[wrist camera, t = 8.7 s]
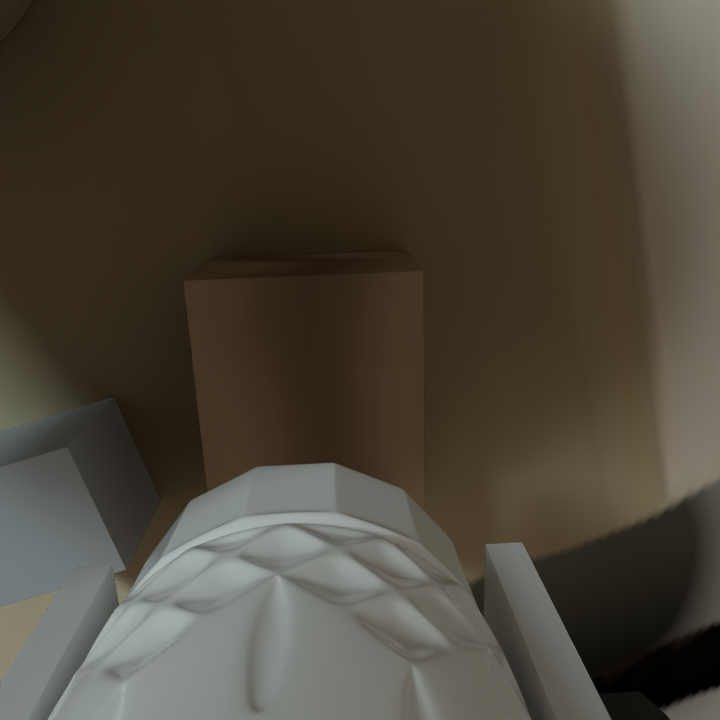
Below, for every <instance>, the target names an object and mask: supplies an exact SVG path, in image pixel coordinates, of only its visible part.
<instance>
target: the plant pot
mask: <svg viewBox="0 0 720 720" xmlns="http://www.w3.org/2000/svg"><path fill="white" fill-rule="evenodd" d="M32 1H33V0H0V41H1V40H3V39H4V38H5V37H6V36H7V35H8V34H9V33H10V32H11V30H12V29H13V28H14V27H15V26H16V24H17V23H18V22H19V20H20V19H21V18H22V16H23V15H24V13H25V12H26V11H27V9H28V8H29V6H30V4H31V2H32Z"/></svg>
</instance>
